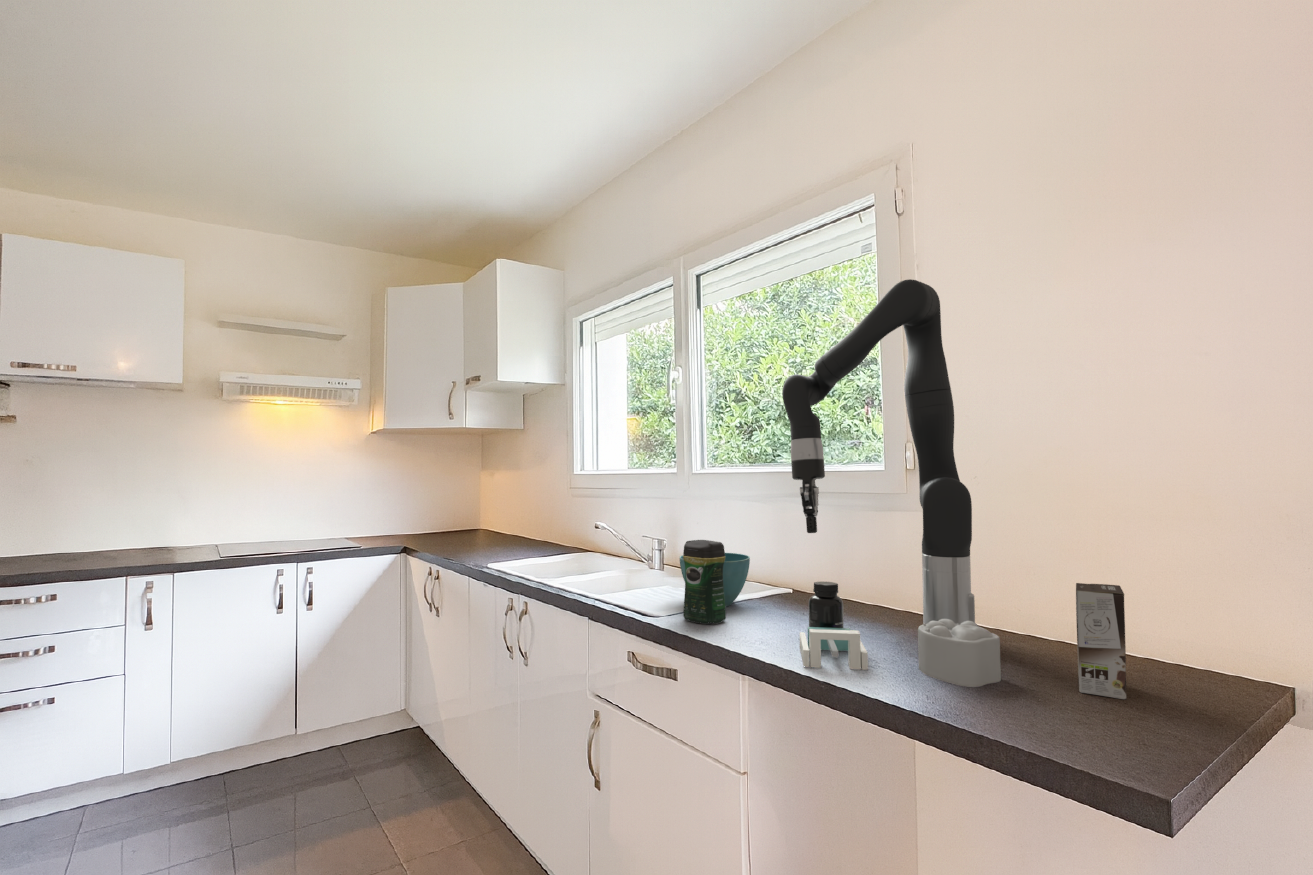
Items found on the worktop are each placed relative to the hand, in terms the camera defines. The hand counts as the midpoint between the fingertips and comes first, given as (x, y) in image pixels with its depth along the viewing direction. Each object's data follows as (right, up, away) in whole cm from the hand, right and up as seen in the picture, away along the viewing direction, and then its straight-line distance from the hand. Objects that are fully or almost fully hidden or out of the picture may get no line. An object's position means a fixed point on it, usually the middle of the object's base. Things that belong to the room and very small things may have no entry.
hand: (812, 532), depth 157 cm
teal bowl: (-21, -21, +18) cm, 35 cm away
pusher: (-4, -18, -32) cm, 37 cm away
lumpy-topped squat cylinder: (+15, -19, -41) cm, 47 cm away
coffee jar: (-25, -20, -1) cm, 32 cm away
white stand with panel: (-4, -19, -32) cm, 37 cm away
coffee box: (+35, -18, -49) cm, 63 cm away
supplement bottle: (-2, -20, -21) cm, 29 cm away
